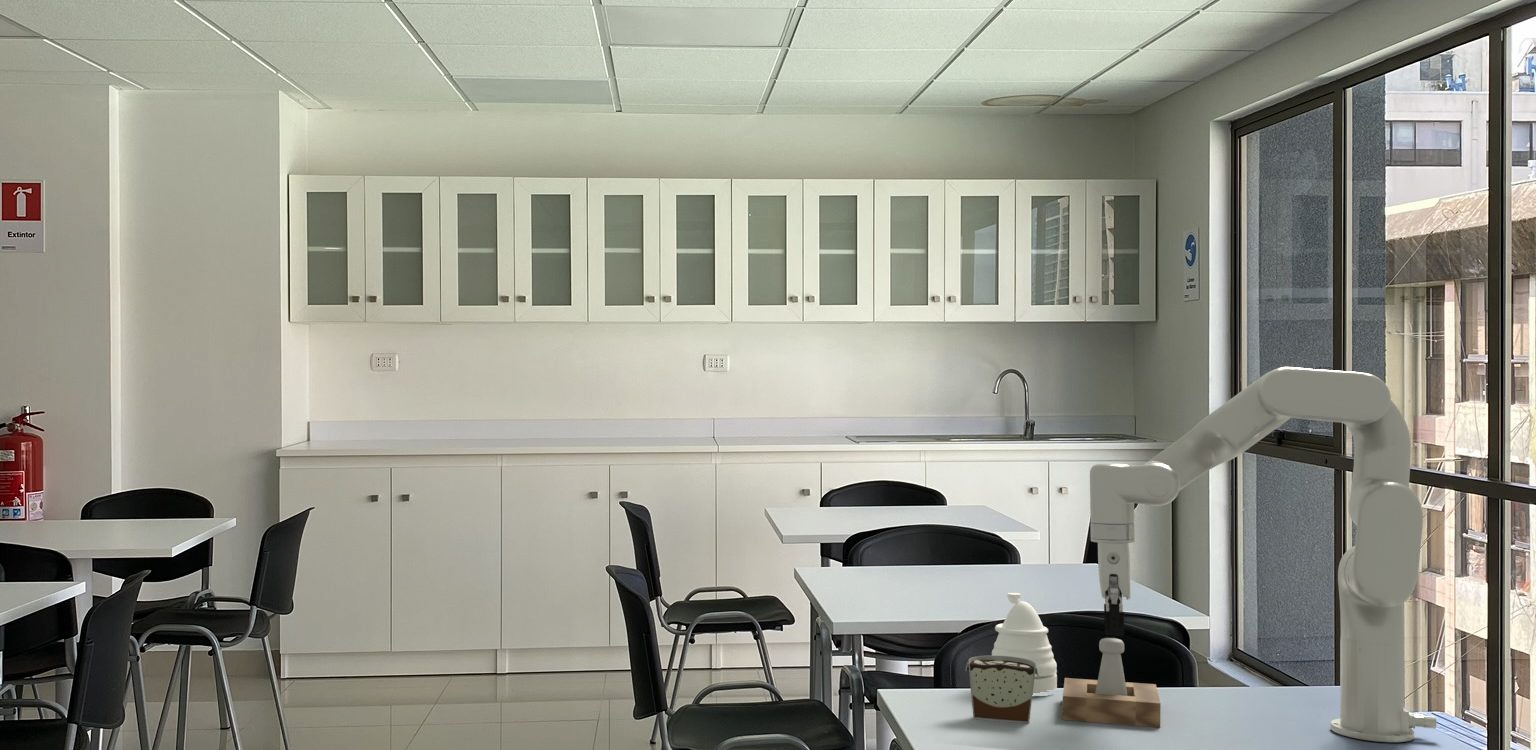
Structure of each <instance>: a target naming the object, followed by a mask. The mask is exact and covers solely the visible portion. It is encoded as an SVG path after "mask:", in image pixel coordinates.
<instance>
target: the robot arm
mask: <svg viewBox="0 0 1536 750" xmlns="http://www.w3.org/2000/svg"><path fill="white" fill-rule="evenodd" d="M1292 418H1293V419H1299V420H1300V419H1301V420H1308V421H1310V420H1311V421H1319V422H1320V421H1321V422H1330V423H1342V424H1344V425H1346V427H1347V428H1348V430H1349V431H1350V434H1351V436H1352V439H1353V447H1354V448H1353V449H1354V454H1353V468H1352V469H1353V470H1352V479H1351V488H1350V494H1349V502H1348V513H1349V517H1350V519H1351V521H1352V523H1353V524H1354V525H1355V526H1356V530H1355V531H1356V532H1355V541H1354V546H1352V547H1350V548H1348V549H1347V550H1346V551H1345V552H1344V554H1343V555H1342V557H1341V558H1340V561H1339V564H1338V569H1337V584H1338V585H1337V586H1338V594H1339V595H1338V596H1339V597H1338V598H1339V611H1340V612H1339V613H1340V615H1339V616H1340V637H1339V639H1340V641H1339V642H1340V645H1339V646H1340V648H1339V649H1340V651H1339V652H1340V653H1339V655H1340V663H1339V664H1340V667H1339V668H1340V669H1339V671H1340V672H1339V673H1340V677H1339V678H1340V682H1339V683H1340V684H1339V686H1340V687H1339V688H1340V689H1339V695H1340V699H1339V700H1340V702H1339V704H1340V706H1339V707H1340V711H1339V712H1340V713H1339V714H1340V715H1339V717H1340V718H1339V717H1338V718H1335V719H1332V720H1330V723H1329V727H1330V728H1329V729H1330V730H1332V732H1334V733H1336V734H1339V735H1341V736H1345V737H1347V738H1352V739H1357V740H1362V741H1370V742H1377V743H1403V742H1404V743H1407V742H1410V741H1412V740H1414V739H1415V731H1414V729H1415V728H1416V727H1418V728H1424V729H1434V730H1435V729H1436V728H1437V718H1436V716H1434V715H1433V716H1430V715H1424V714H1422V713H1414V712H1412V713H1411V712H1410V711H1409V710H1407V708H1406V707H1404V706H1405V702H1404V701H1405V700H1404V699H1405V690H1404V689H1405V688H1404V686H1405V679H1404V678H1405V676H1404V675H1405V674H1404V673H1405V671H1404V670H1405V669H1404V668H1405V667H1404V666H1405V663H1404V662H1405V658H1404V657H1405V655H1404V654H1405V651H1404V650H1405V647H1404V646H1405V643H1404V642H1405V622H1404V621H1405V620H1404V609H1403V603H1404V602H1405V601H1407V600H1408V599H1410V597H1411V596H1412V594H1413V592H1414V591H1415V589H1416V586H1417V581H1418V575H1419V567H1420V559H1421V558H1420V557H1421V556H1420V555H1421V545H1422V537H1423V536H1422V535H1423V525H1424V522H1423V521H1424V518H1423V517H1424V516H1423V507H1422V504H1421V502H1420V498H1418V496H1417V494H1416V493H1415V491H1413V490H1412V489H1411V488H1410V476H1411V475H1410V473H1411V453H1412V452H1411V450H1412V446H1411V436H1410V435H1411V434H1410V431H1409V427H1408V424H1407V421H1406V420H1405V418H1404V415H1403V414H1402V412H1401V411H1400V409H1399V408H1398V406H1397V405H1396V404H1395V403H1394V402H1393V401H1392V396H1391V391H1390V389H1389V386H1388V385H1387V384H1386V383H1385V381H1384V380H1382V379H1381V378H1380V377H1378V376H1376V375H1374V374H1371V373H1367V372H1359V371H1344V370H1332V369H1331V370H1329V369H1315V368H1314V369H1313V368H1304V367H1294V366H1282V367H1277V368H1275V369H1273V370H1270V371H1268V372H1266V373H1265V374H1263V375H1262V376H1260V377H1259V378H1257V379H1256V380H1255V381H1253V382H1252V383H1251V384H1250V385H1248V386H1246V387H1245V388H1244V389H1243V390H1241V391H1240V392H1238V393H1237V394H1236V395H1234V396H1233V397H1231V398H1230V399H1228V400H1227V401H1226V402H1225V403H1223V404H1222V405H1221V406H1219V407H1218V408H1217V409H1215V410H1213V411H1212V412H1211V413H1209V414H1208V415H1207V416H1205V417H1204V418H1203V419H1201V420H1200V421H1199V422H1198V423H1197V424H1196V425H1194V427H1192V429H1190V430H1189V431H1187V433H1185V434H1184V435H1182V436H1181V437H1180V438H1179V439H1177V440H1176V441H1175V442H1173V443H1172V444H1170V445H1169V446H1167V447H1166V448H1165V449H1163V450H1162V451H1161V452H1159V453H1158V454H1156V455H1155V456H1154V457H1151V459H1149V460H1148V461H1146V462H1145V463H1144V464H1137V465H1129V464H1126V463H1114V462H1113V463H1112V462H1111V463H1096V464H1093V465H1092V466H1091V468H1090V470H1089V508H1090V515H1089V517H1090V518H1089V520H1090V542H1093V543H1097V561H1098V563H1097V564H1098V578H1099V588H1100V593H1101V598H1103V600H1104V601H1105V603H1103V618H1104V619H1103V620H1104V622H1103V623H1104V634H1105V635H1106V636H1117V637H1119V636H1120V637H1121V636H1124V635H1125V611H1124V610H1123V609H1124V608H1123V606H1124V605H1123V598H1126V599H1125V600H1127V601H1129V600H1130V599H1131V562H1130V559H1131V558H1130V547H1129V544H1131V543H1135V542H1136V541H1135V538H1136V537H1135V536H1136V535H1135V532H1136V531H1135V504H1139V505H1145V506H1151V507H1152V506H1153V507H1162V506H1166V505H1169V504H1170V503H1172V502H1173V501H1174V500H1175V499H1176V498H1177V497H1178V495H1179V492H1180V491H1182V490H1183V489H1184V488H1186V487H1187V486H1188V485H1190V484H1191V483H1193V481H1195V480H1196V479H1198V478H1199V477H1201V476H1203V475H1204V474H1206V473H1207V472H1208V471H1210V470H1212V469H1213V468H1215V467H1217V466H1219V465H1222V464H1223V463H1224V464H1225V463H1226V462H1230V461H1231V460H1233V459H1235V458H1236V457H1238V456H1240V455H1242V454H1243V453H1244V452H1247V450H1249V449H1250V448H1251V447H1253V446H1254V445H1255V444H1257V443H1259V441H1261V440H1262V439H1264V438H1266V436H1268V435H1270V434H1271V433H1272V432H1273V431H1275V430H1276V429H1278V428H1279V427H1281V426H1282V425H1283V424H1285V423H1286V422H1287V421H1289V420H1290V419H1292Z"/></svg>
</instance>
